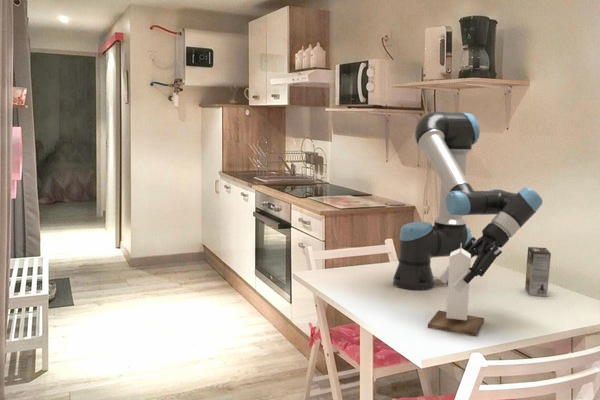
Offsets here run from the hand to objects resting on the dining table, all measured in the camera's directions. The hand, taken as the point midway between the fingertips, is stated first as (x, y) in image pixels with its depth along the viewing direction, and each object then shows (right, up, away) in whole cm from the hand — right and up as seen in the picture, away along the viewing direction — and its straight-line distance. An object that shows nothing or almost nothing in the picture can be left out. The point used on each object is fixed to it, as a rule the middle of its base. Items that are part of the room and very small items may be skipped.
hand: (448, 284), depth 166 cm
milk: (+3, -10, +2) cm, 11 cm away
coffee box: (+42, -9, +37) cm, 57 cm away
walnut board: (+3, -12, +2) cm, 13 cm away
